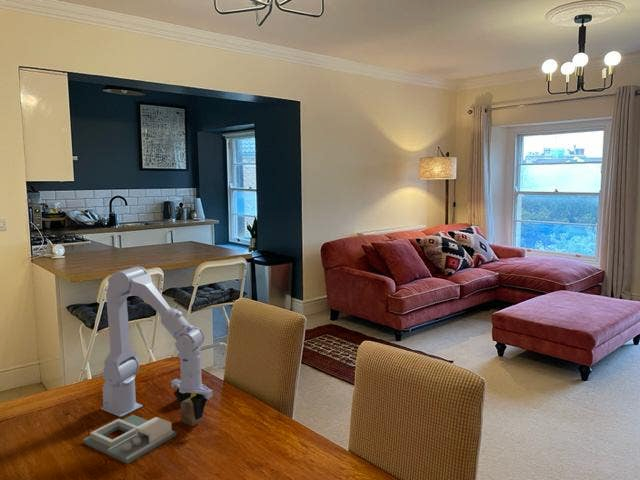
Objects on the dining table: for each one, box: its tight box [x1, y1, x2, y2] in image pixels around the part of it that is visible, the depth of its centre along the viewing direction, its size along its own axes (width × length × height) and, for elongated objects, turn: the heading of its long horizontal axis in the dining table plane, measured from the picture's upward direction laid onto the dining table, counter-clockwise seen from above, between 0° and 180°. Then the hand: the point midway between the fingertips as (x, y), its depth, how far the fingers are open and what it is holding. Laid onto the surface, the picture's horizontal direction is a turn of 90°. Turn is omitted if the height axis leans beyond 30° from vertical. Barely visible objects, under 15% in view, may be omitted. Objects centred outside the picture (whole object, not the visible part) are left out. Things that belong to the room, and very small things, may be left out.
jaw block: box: [180, 397, 205, 427], centre depth 146 cm, size 4×4×6 cm
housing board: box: [82, 414, 177, 465], centre depth 136 cm, size 18×16×2 cm
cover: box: [135, 416, 173, 443], centre depth 136 cm, size 6×7×3 cm
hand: (192, 415), depth 146 cm, fingers closed on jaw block, 4 cm apart
